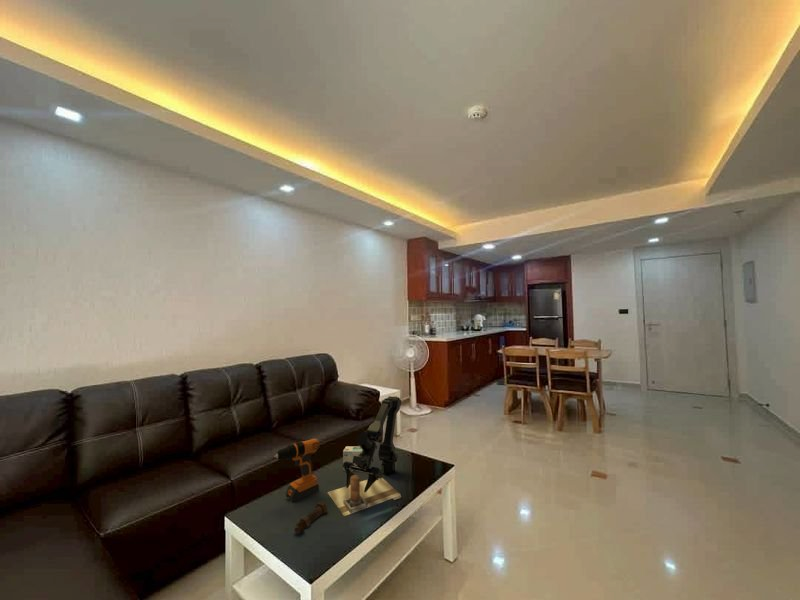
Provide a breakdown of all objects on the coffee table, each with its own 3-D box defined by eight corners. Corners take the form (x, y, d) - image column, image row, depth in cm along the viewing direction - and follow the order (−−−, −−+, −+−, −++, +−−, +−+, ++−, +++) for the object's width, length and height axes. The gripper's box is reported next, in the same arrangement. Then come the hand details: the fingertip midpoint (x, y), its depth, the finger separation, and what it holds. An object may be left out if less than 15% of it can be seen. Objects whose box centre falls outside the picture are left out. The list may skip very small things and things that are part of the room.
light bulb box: (364, 465, 183) (364, 446, 183) (362, 471, 176) (362, 451, 176) (346, 464, 184) (345, 445, 184) (342, 470, 177) (342, 450, 177)
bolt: (295, 539, 128) (321, 516, 141) (303, 536, 126) (329, 513, 139) (289, 524, 129) (316, 502, 142) (297, 521, 127) (323, 499, 140)
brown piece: (355, 500, 147) (355, 473, 147) (362, 504, 144) (362, 476, 145) (348, 505, 144) (347, 477, 144) (355, 509, 141) (354, 481, 141)
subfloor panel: (379, 477, 169) (379, 472, 169) (401, 497, 151) (400, 491, 151) (327, 494, 154) (327, 489, 154) (344, 519, 136) (344, 512, 136)
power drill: (279, 511, 142) (278, 453, 143) (272, 503, 148) (271, 448, 148) (322, 491, 158) (322, 439, 158) (314, 485, 163) (314, 434, 163)
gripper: (344, 444, 154) (330, 479, 143) (379, 450, 146) (367, 488, 136) (353, 453, 161) (340, 488, 150) (387, 460, 153) (376, 496, 143)
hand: (355, 489), depth 145 cm, fingers open, 9 cm apart
